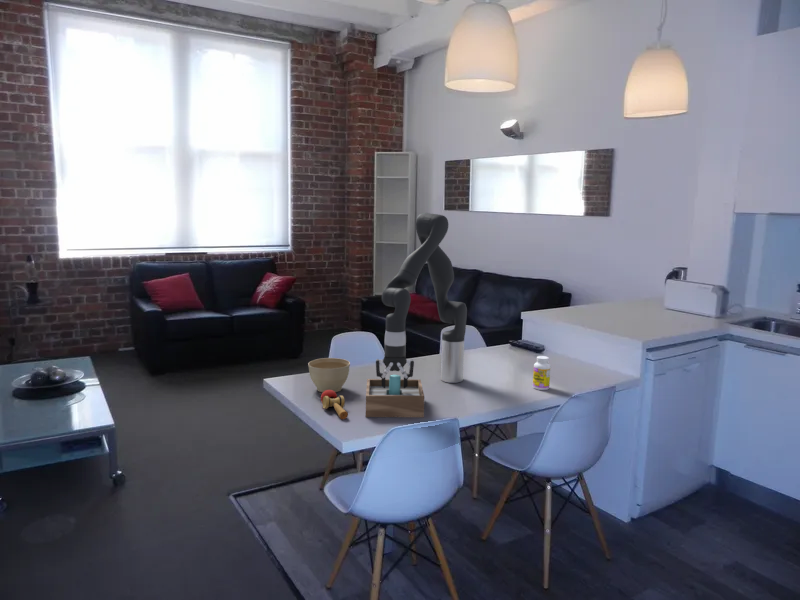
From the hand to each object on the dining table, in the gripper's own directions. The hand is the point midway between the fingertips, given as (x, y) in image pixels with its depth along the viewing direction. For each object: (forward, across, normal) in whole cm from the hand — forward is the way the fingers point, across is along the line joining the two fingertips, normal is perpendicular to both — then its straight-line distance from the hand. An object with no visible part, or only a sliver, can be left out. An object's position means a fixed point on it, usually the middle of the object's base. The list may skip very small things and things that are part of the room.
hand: (394, 387), depth 216 cm
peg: (+7, 0, 0) cm, 7 cm away
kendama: (+7, +21, +6) cm, 23 cm away
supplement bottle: (+7, -60, -23) cm, 65 cm away
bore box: (+7, 0, +2) cm, 7 cm away
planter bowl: (+7, +25, -18) cm, 32 cm away
